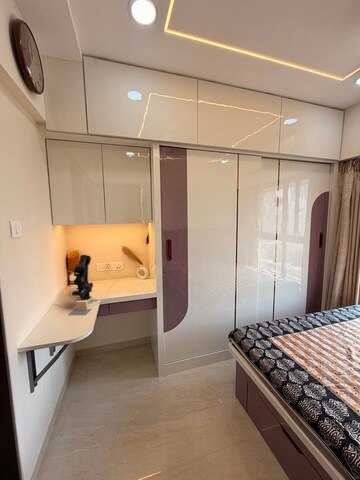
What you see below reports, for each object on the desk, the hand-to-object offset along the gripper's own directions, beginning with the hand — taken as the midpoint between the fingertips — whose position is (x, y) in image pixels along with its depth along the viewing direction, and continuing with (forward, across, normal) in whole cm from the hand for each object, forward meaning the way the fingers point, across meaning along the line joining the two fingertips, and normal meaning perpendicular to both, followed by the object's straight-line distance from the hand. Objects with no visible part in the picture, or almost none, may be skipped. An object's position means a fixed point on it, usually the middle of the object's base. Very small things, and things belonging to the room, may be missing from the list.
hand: (82, 299), depth 167 cm
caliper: (+4, 0, 0) cm, 4 cm away
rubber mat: (+5, -12, -4) cm, 14 cm away
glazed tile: (+4, -9, -4) cm, 11 cm away
